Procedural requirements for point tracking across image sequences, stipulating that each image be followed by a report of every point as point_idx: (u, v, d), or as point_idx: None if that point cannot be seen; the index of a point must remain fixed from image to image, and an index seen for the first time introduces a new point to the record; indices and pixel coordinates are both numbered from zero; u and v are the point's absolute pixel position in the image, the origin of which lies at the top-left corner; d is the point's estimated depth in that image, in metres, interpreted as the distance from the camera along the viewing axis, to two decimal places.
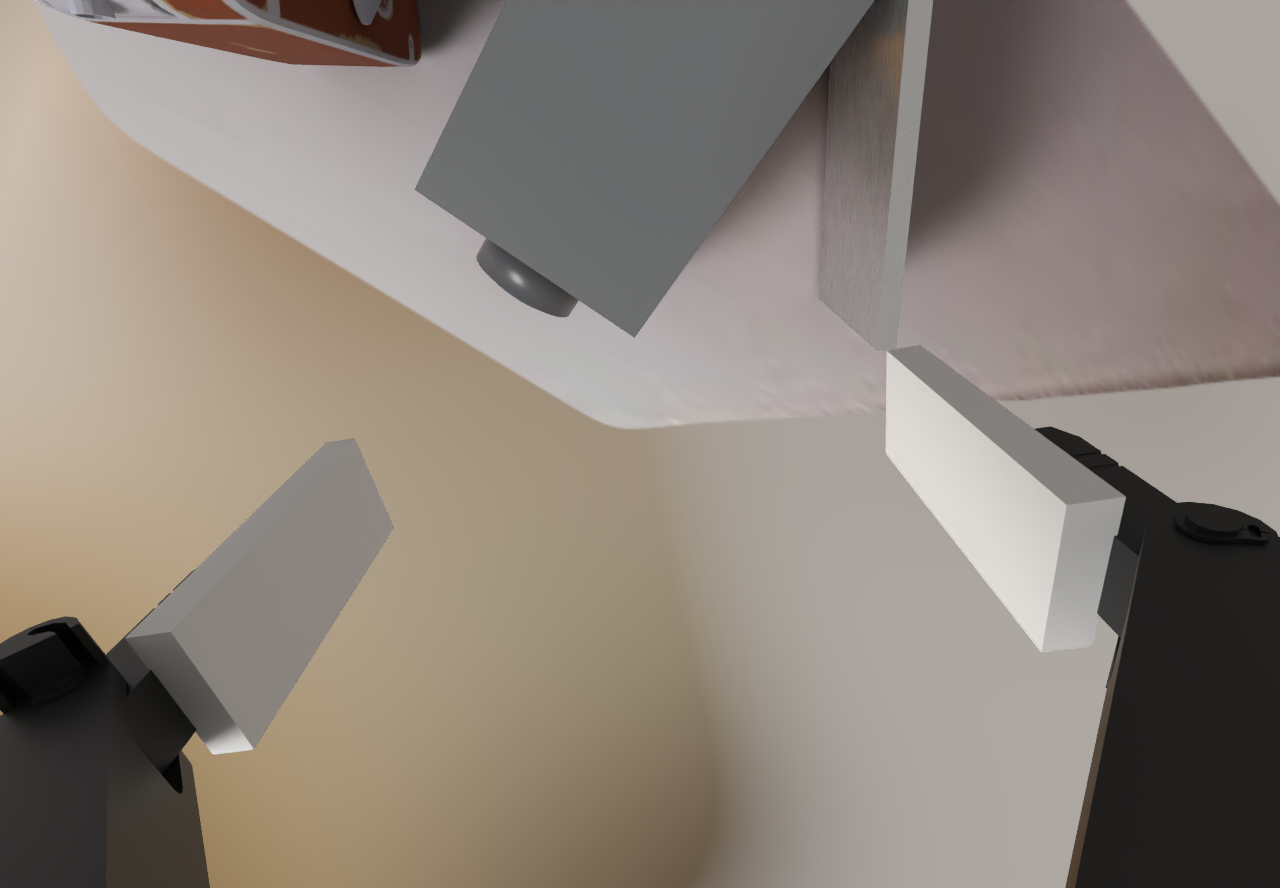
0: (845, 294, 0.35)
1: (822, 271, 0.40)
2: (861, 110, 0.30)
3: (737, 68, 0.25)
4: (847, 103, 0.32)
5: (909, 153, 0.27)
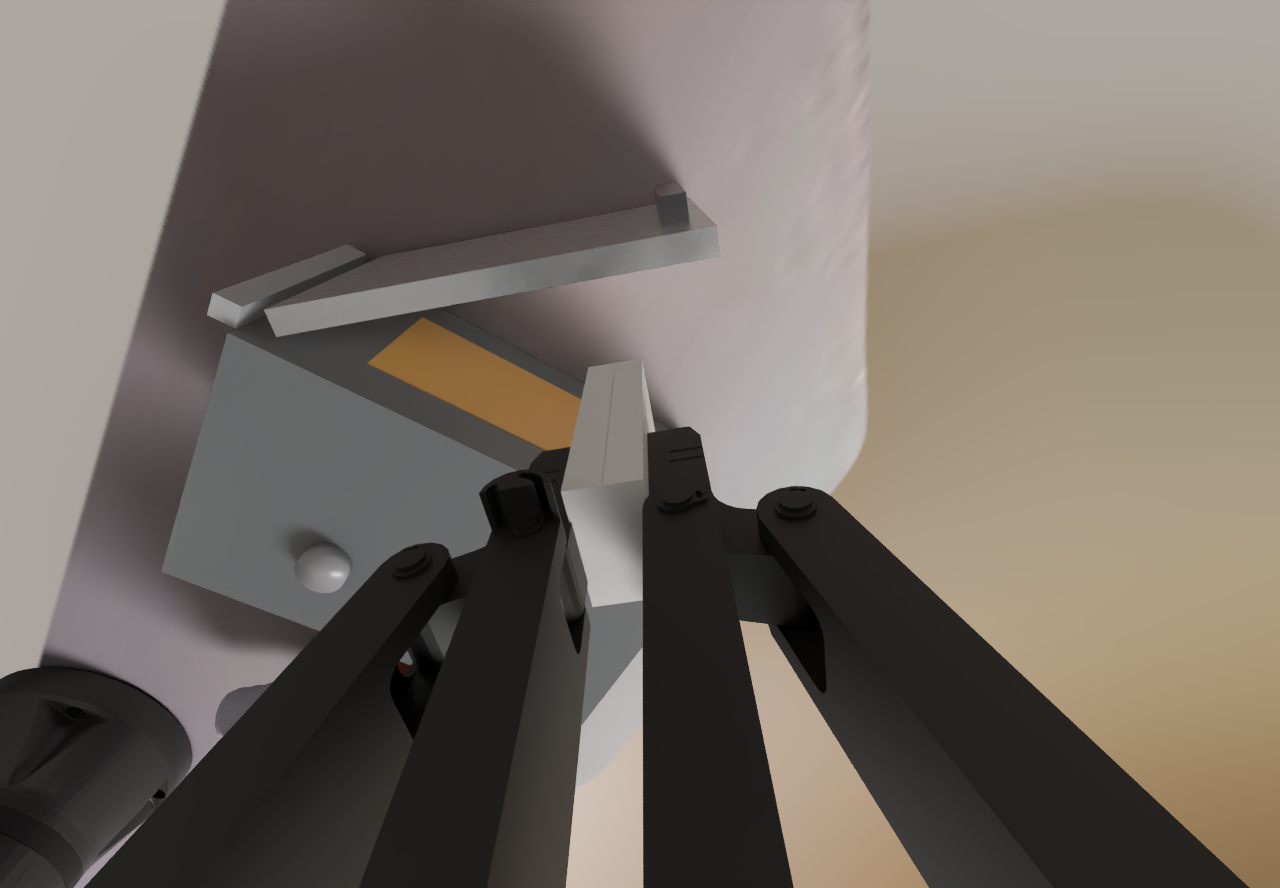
0: None
1: None
2: None
3: (417, 495, 0.24)
4: None
5: (455, 284, 0.21)
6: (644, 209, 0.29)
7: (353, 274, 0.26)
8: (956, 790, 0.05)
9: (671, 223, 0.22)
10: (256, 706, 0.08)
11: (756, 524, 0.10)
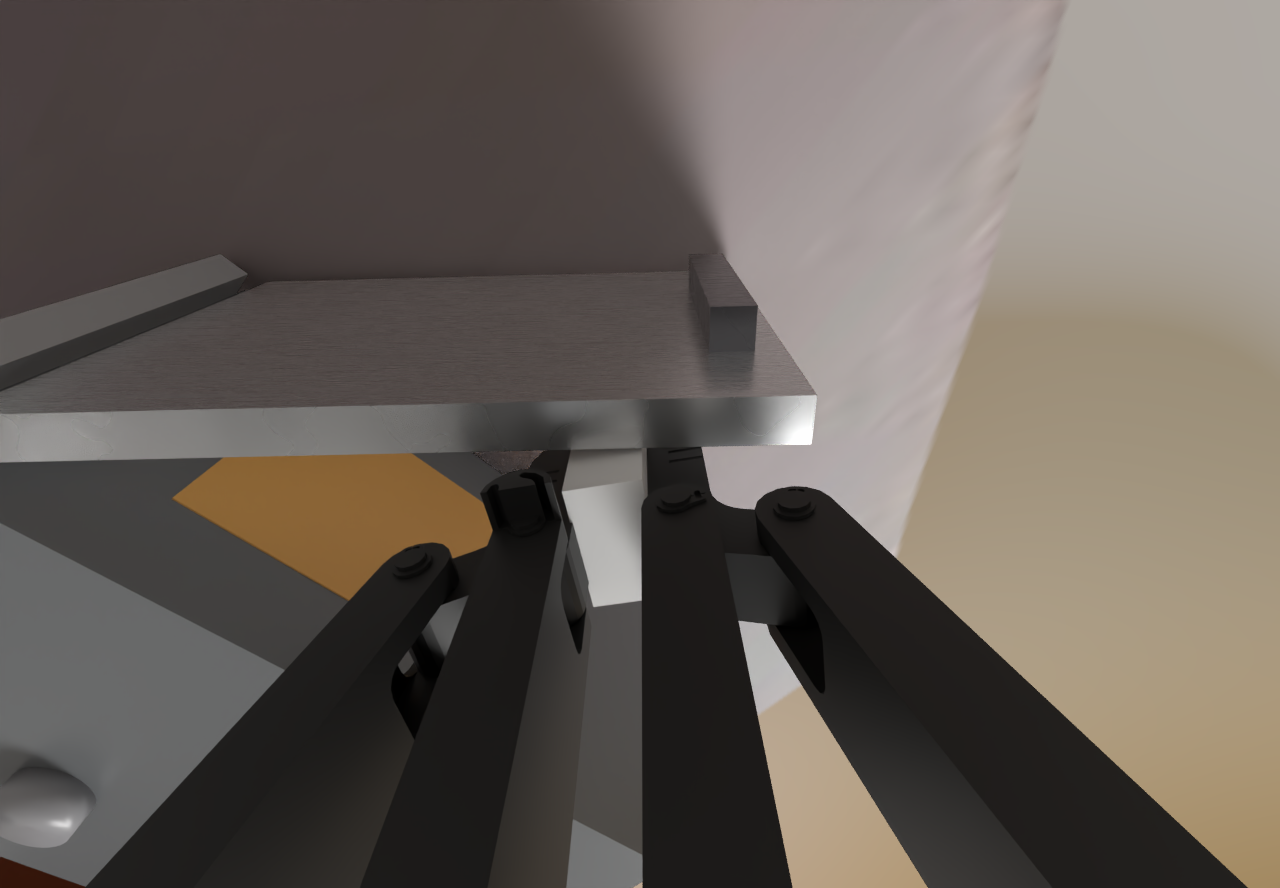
0: None
1: None
2: None
3: (217, 732, 0.14)
4: None
5: (321, 423, 0.11)
6: (668, 280, 0.19)
7: (188, 328, 0.16)
8: (955, 790, 0.05)
9: (724, 351, 0.13)
10: (257, 706, 0.08)
11: (755, 524, 0.10)
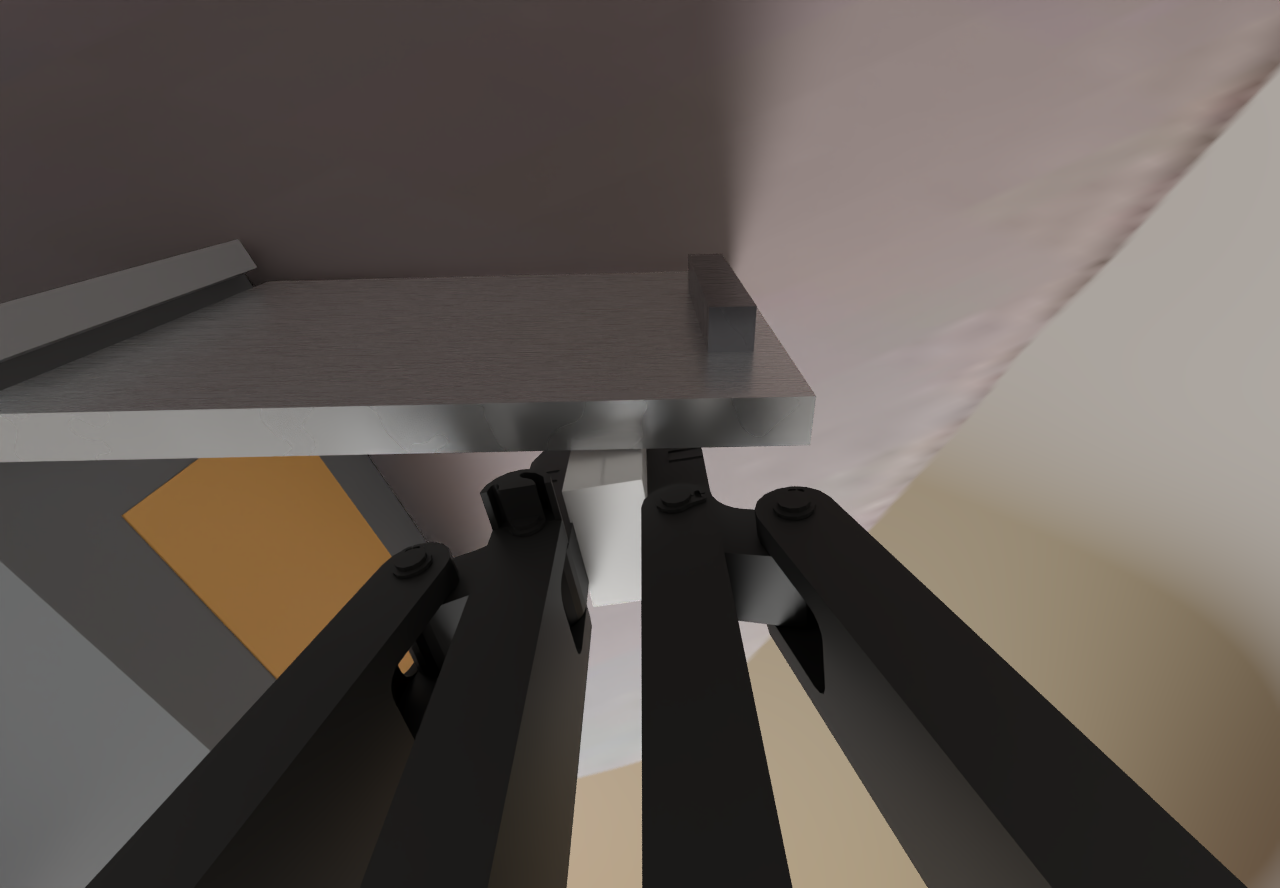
0: None
1: None
2: None
3: (68, 743, 0.15)
4: None
5: (319, 423, 0.11)
6: (667, 281, 0.19)
7: (187, 328, 0.16)
8: (955, 790, 0.05)
9: (722, 351, 0.13)
10: (257, 705, 0.08)
11: (755, 524, 0.10)
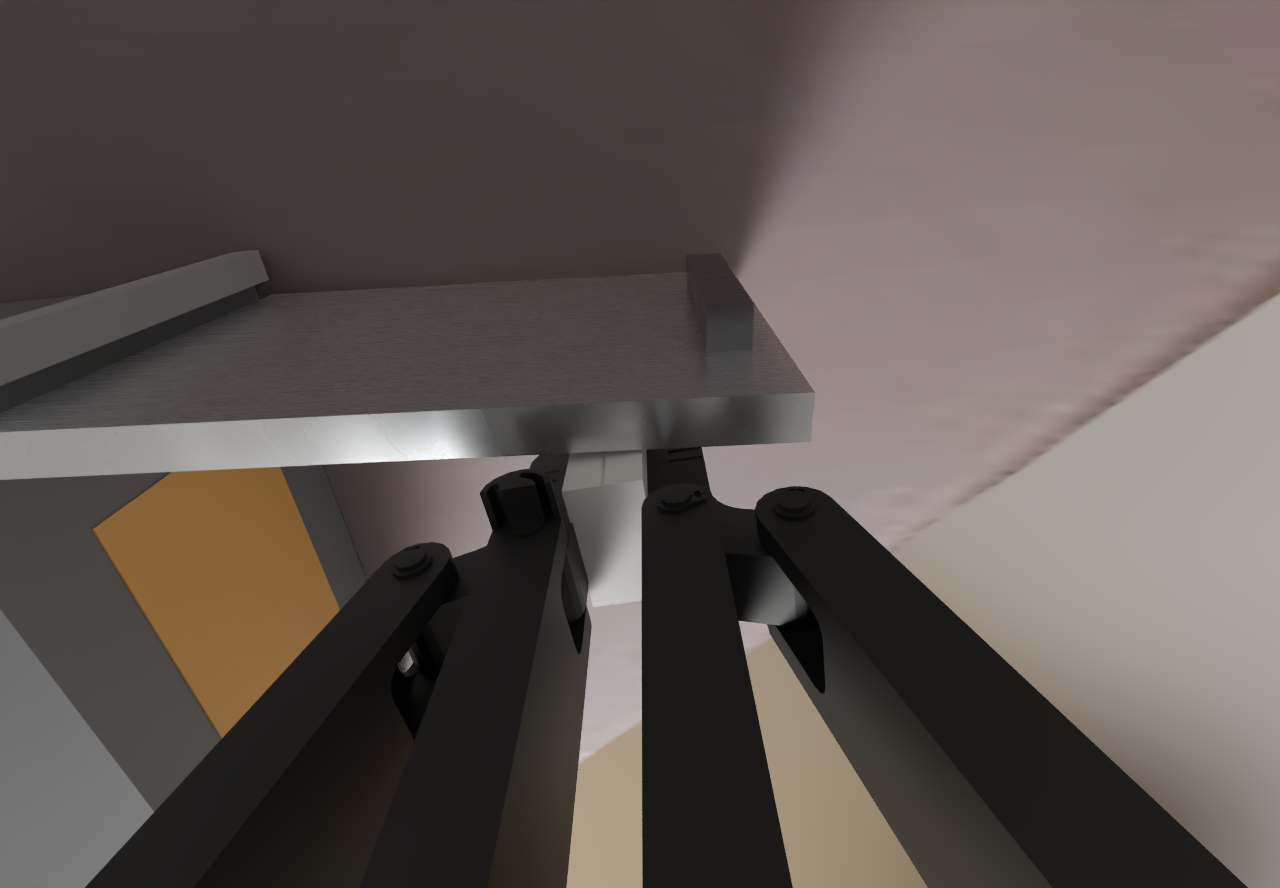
0: None
1: None
2: None
3: None
4: None
5: (321, 432, 0.11)
6: (666, 282, 0.19)
7: (192, 342, 0.16)
8: (955, 790, 0.05)
9: (721, 350, 0.13)
10: (257, 706, 0.08)
11: (755, 524, 0.10)
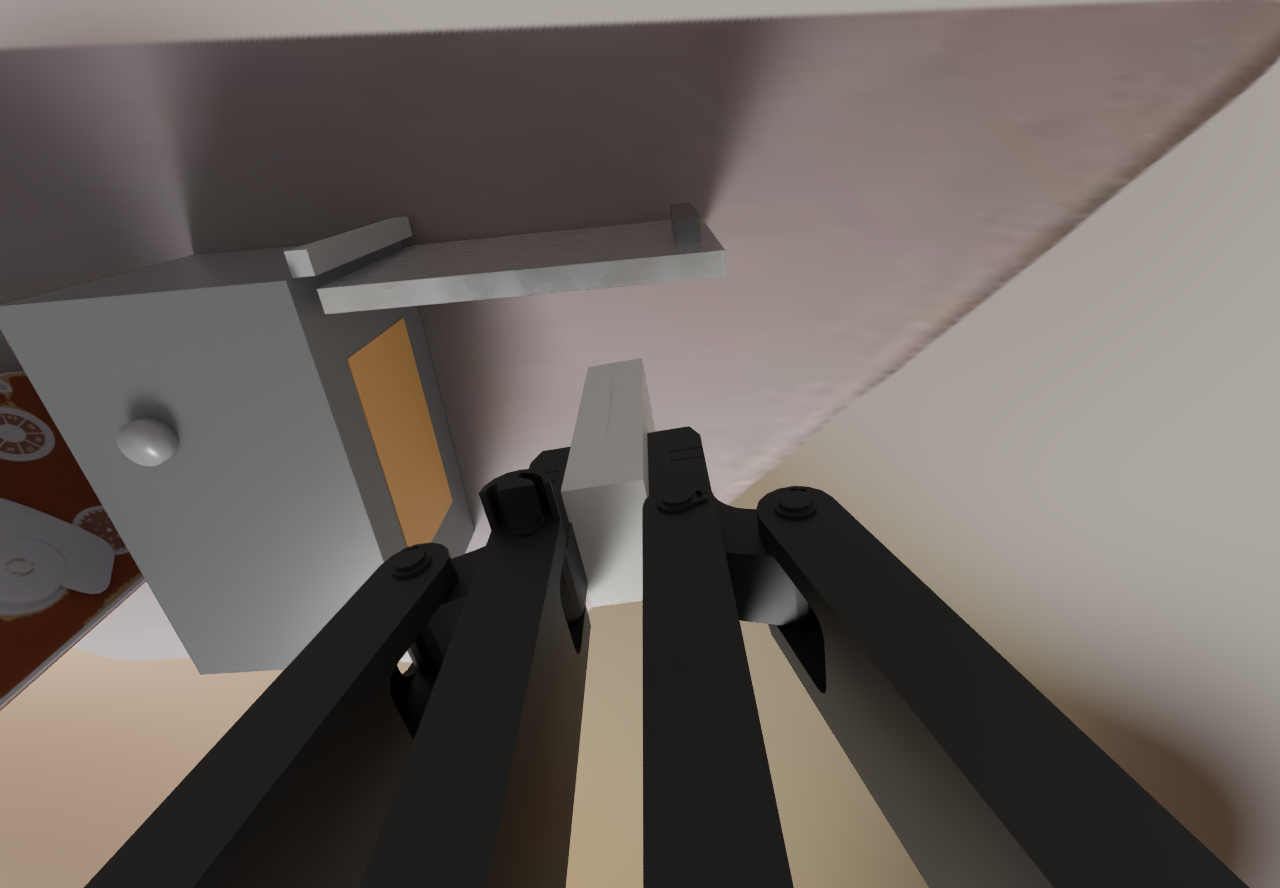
0: None
1: None
2: None
3: (283, 470, 0.27)
4: None
5: (491, 281, 0.23)
6: (659, 224, 0.31)
7: (391, 261, 0.28)
8: (956, 789, 0.05)
9: (685, 243, 0.25)
10: (256, 706, 0.08)
11: (756, 524, 0.10)
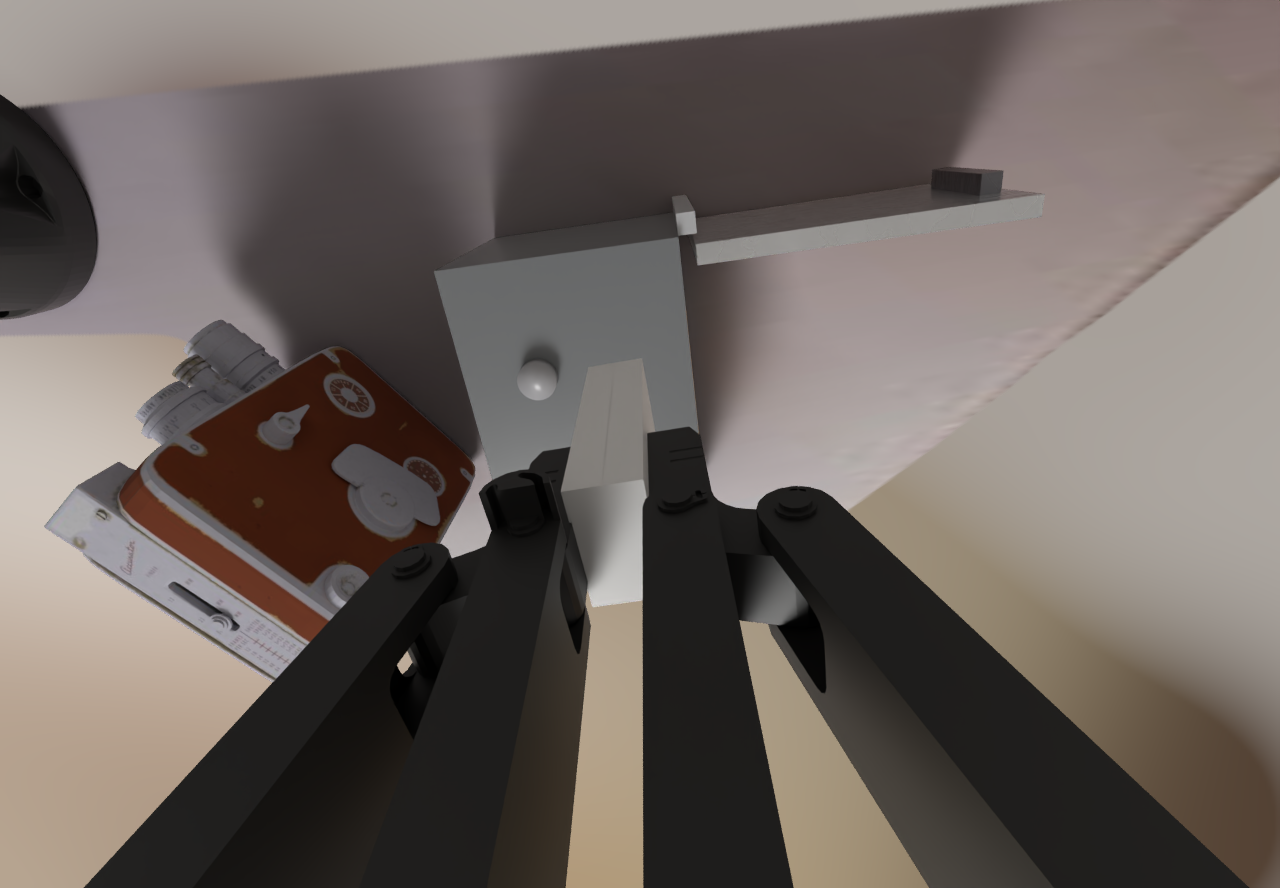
0: None
1: None
2: None
3: None
4: None
5: (841, 230, 0.28)
6: (913, 188, 0.36)
7: (707, 227, 0.34)
8: (956, 790, 0.05)
9: (986, 194, 0.30)
10: (256, 706, 0.08)
11: (756, 524, 0.10)
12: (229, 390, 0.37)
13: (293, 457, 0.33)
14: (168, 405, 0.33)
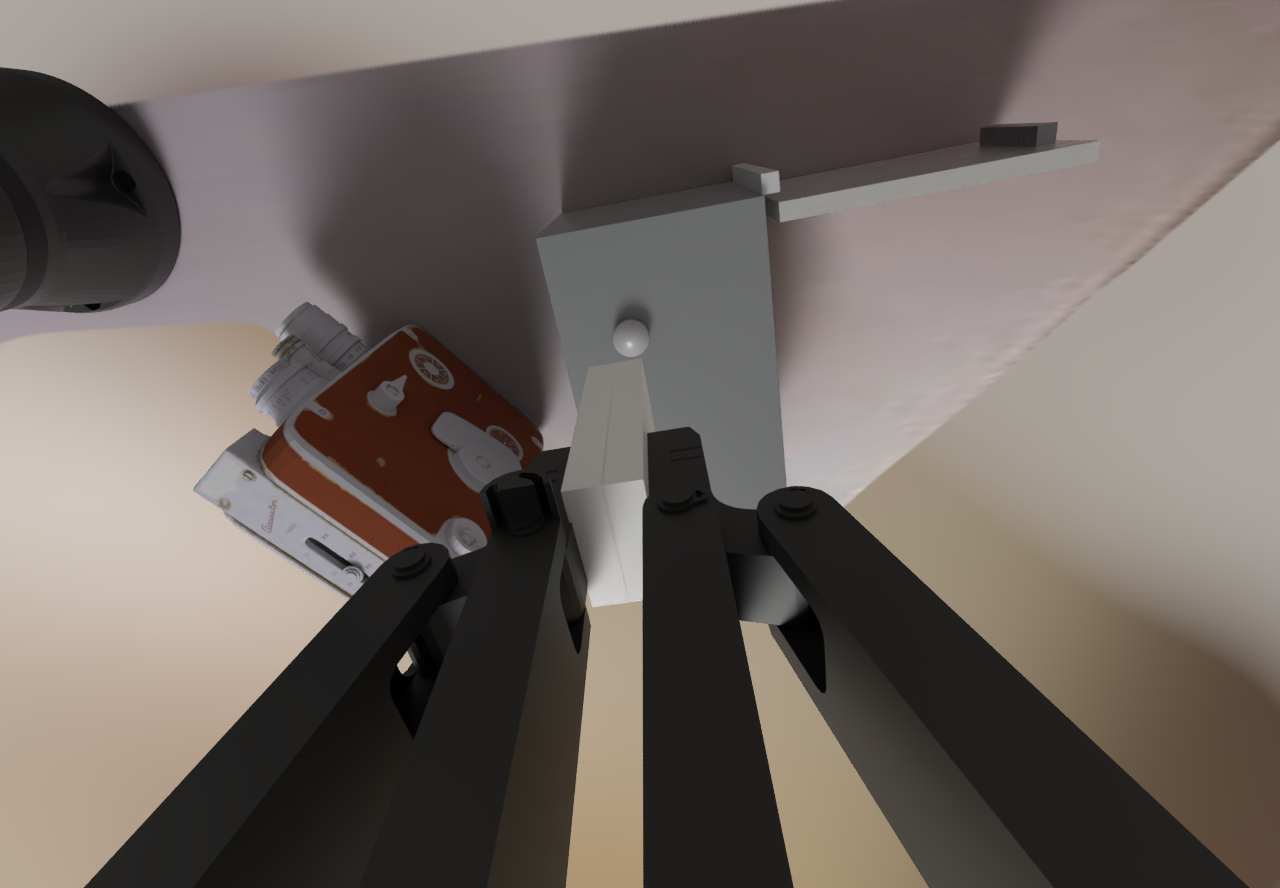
0: None
1: None
2: None
3: (723, 355, 0.34)
4: None
5: (914, 183, 0.31)
6: (961, 147, 0.39)
7: None
8: (957, 790, 0.05)
9: (1042, 145, 0.32)
10: (256, 706, 0.08)
11: (756, 524, 0.10)
12: (324, 367, 0.39)
13: (400, 423, 0.35)
14: (280, 379, 0.35)
